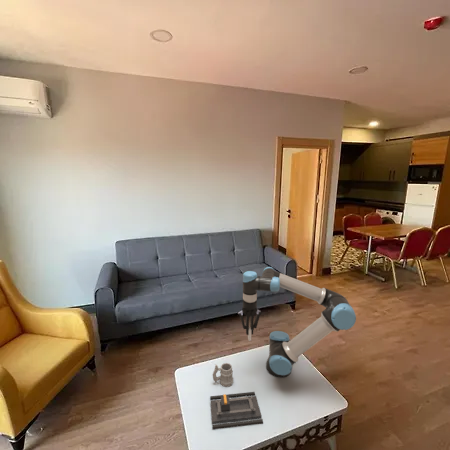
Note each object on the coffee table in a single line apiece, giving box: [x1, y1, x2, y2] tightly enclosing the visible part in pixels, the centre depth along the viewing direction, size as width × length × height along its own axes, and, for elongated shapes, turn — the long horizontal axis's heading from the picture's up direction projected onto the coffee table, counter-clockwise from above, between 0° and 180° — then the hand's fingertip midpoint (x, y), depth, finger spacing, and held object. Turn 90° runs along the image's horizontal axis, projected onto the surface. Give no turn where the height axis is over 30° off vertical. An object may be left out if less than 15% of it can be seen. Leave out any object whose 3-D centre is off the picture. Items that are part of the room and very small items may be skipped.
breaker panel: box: [210, 395, 263, 425], centre depth 130 cm, size 24×12×3 cm, turn 97°
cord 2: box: [211, 418, 264, 430], centre depth 122 cm, size 24×1×1 cm, turn 97°
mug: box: [212, 362, 234, 388], centre depth 147 cm, size 8×12×12 cm, turn 101°
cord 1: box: [209, 391, 256, 401], centre depth 138 cm, size 24×1×1 cm, turn 97°
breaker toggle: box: [220, 393, 230, 412], centre depth 129 cm, size 4×5×6 cm
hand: (249, 339), depth 145 cm, fingers closed
